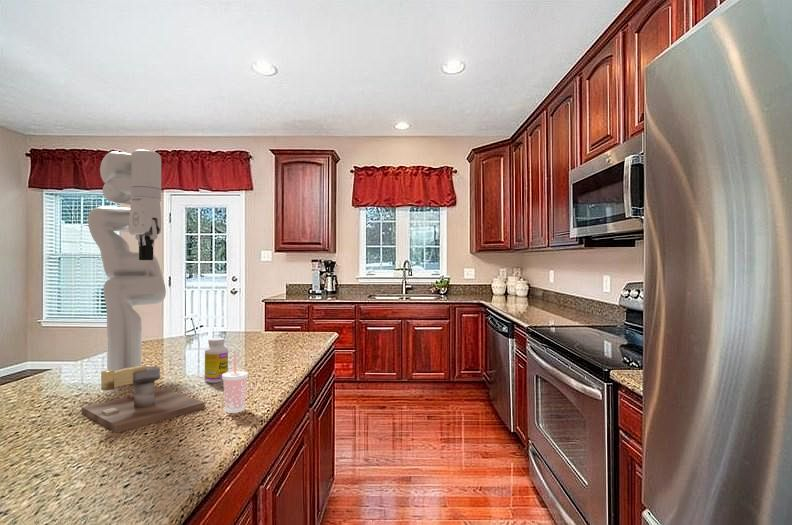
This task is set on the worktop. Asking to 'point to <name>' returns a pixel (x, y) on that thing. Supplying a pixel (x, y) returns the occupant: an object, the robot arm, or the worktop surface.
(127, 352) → the robot arm
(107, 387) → the brass lever handle
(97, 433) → the worktop surface
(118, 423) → the post base
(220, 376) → the supplement bottle
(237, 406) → the beverage cup
